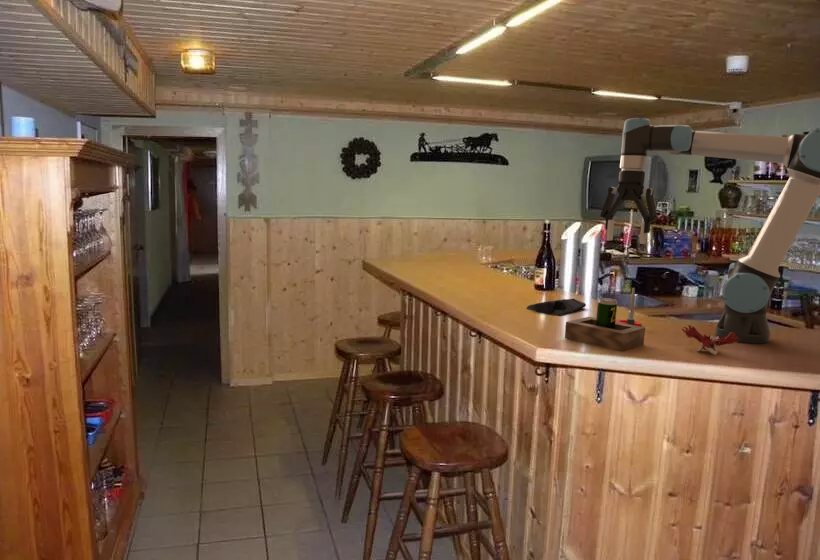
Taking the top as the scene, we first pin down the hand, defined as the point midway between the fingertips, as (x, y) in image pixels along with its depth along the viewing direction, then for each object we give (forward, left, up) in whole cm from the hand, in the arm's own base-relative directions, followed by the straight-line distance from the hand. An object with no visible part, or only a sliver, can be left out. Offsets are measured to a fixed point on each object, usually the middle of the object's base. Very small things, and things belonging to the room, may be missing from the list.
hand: (625, 241), depth 198 cm
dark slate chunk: (+30, -11, -29) cm, 43 cm away
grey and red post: (+1, -9, -28) cm, 30 cm away
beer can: (-6, +20, -28) cm, 35 cm away
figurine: (-30, +6, -28) cm, 42 cm away
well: (-6, +20, -28) cm, 35 cm away
